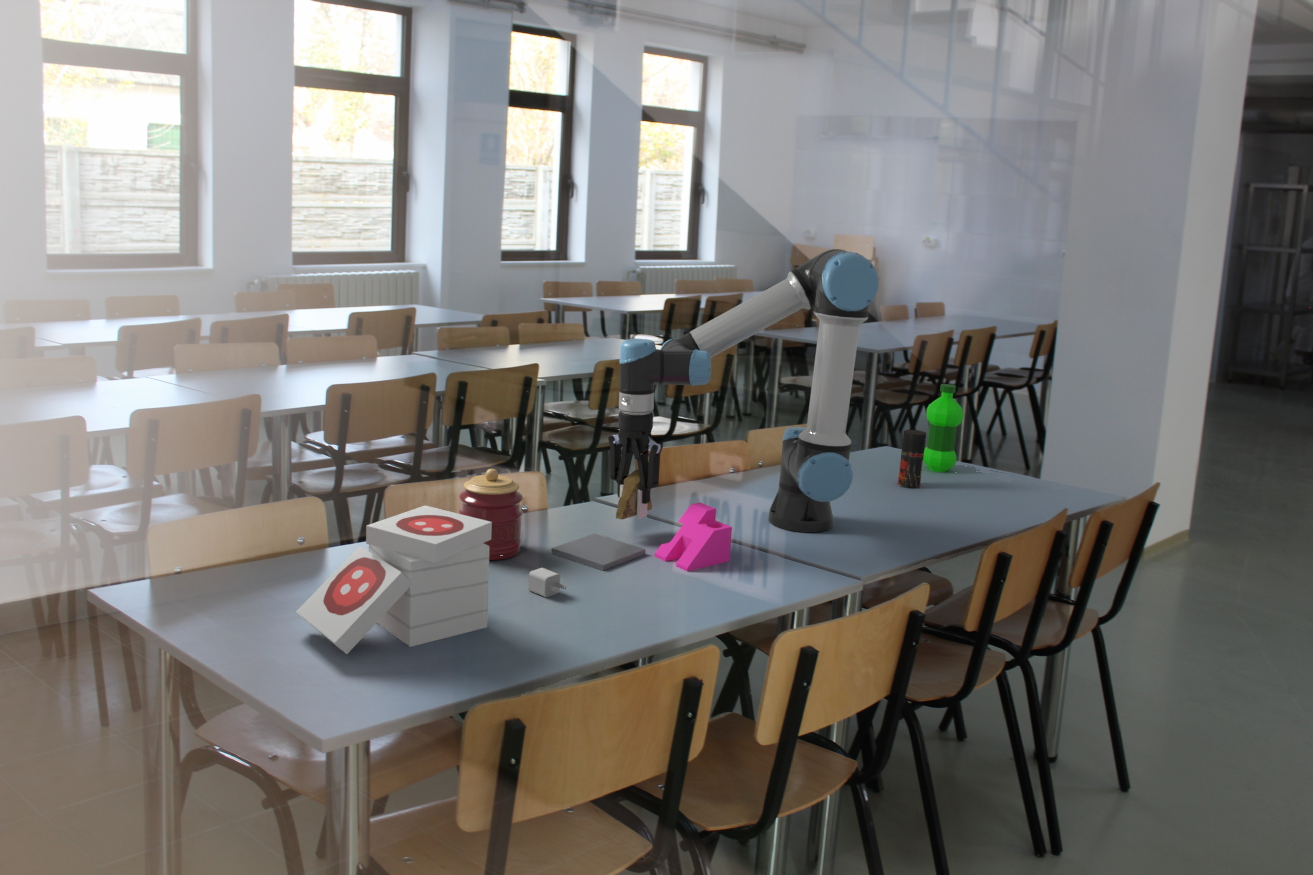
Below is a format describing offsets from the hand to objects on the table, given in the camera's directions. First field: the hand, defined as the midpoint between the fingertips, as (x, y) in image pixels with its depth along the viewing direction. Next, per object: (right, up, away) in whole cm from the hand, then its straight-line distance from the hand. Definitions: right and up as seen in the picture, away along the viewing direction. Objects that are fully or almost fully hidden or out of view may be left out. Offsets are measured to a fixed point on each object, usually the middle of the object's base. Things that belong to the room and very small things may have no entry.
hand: (633, 514), depth 240 cm
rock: (0, 0, 0) cm, 0 cm away
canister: (-30, -7, -14) cm, 33 cm away
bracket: (+13, -9, -11) cm, 19 cm away
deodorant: (+74, +4, +58) cm, 94 cm away
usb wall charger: (-15, -13, -35) cm, 40 cm away
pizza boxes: (-39, -16, -55) cm, 69 cm away
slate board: (-7, -8, -12) cm, 16 cm away
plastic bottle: (+87, +7, +77) cm, 117 cm away
